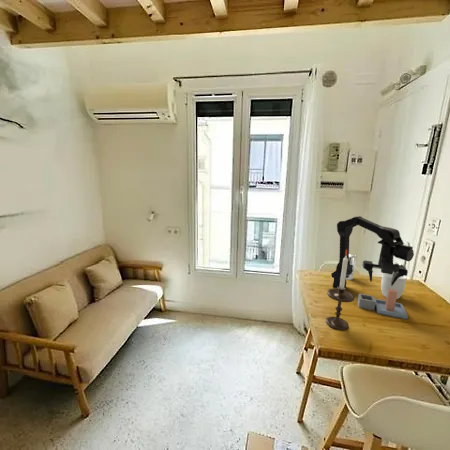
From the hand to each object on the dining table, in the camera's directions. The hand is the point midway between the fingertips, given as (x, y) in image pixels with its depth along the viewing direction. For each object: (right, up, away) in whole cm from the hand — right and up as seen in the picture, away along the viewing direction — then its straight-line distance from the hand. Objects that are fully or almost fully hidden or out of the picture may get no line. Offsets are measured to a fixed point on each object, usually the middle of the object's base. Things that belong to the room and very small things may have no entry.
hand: (380, 283), depth 133 cm
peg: (+2, -12, -3) cm, 13 cm away
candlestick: (-29, -15, -15) cm, 36 cm away
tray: (+2, -13, -3) cm, 13 cm away
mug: (+13, -10, +13) cm, 21 cm away
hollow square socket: (-7, -12, +1) cm, 14 cm away
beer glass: (0, -5, +37) cm, 37 cm away
